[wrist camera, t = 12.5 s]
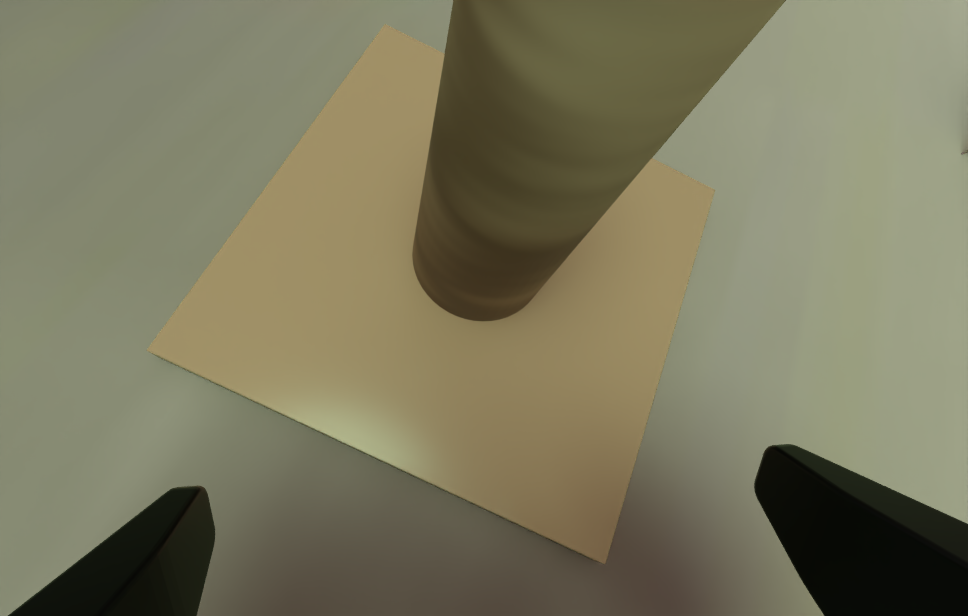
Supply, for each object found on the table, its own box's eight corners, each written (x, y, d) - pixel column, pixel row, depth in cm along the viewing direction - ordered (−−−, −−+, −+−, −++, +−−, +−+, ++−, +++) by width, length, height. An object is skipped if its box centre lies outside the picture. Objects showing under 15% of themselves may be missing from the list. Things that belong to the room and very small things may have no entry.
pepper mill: (569, 272, 20) (874, -61, 8) (470, 348, 18) (668, 70, 6) (487, 177, 20) (652, -268, 8) (384, 241, 19) (404, -205, 7)
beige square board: (704, 199, 23) (715, 190, 22) (595, 561, 17) (605, 564, 17) (384, 39, 23) (384, 24, 22) (156, 356, 17) (146, 350, 16)
